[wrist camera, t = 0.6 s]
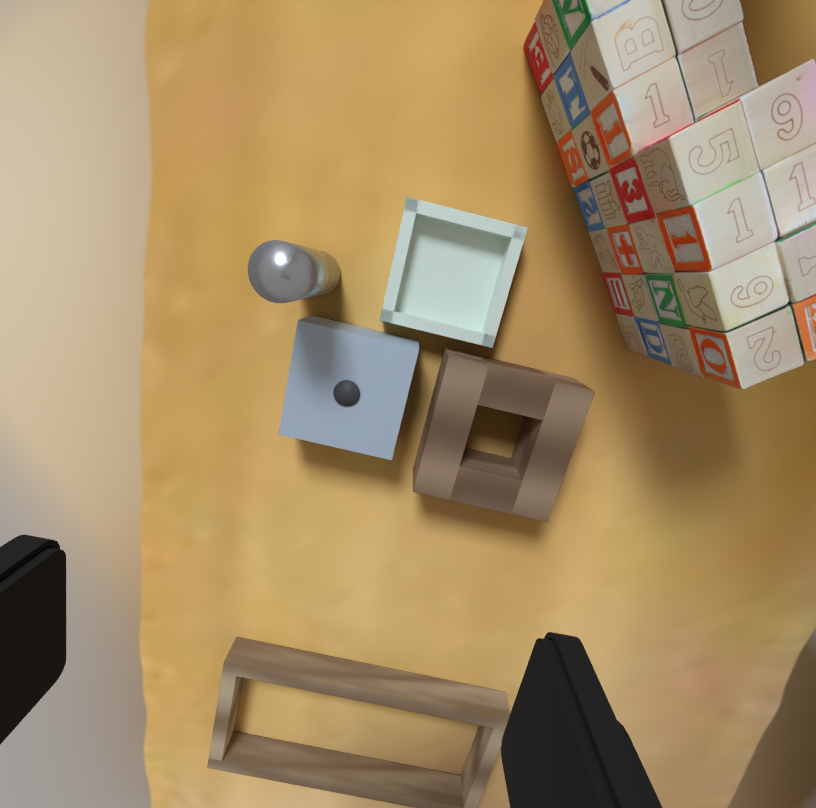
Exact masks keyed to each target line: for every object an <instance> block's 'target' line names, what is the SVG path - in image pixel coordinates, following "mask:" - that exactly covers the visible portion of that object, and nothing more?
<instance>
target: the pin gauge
mask: <svg viewBox="0 0 816 808" xmlns="http://www.w3.org/2000/svg"><path fill="white" fill-rule="evenodd" d="M248 275H249V279H250V282H251V284H252V286H253V288H254V289H255V291H256V292H257V293H258V294H259V295H260V296H261V297H263V298H264V299H266V300H268V301H271V302H274V303H287V302H292V301H296V300H301V299H306V298H311V297H315V296H320V295H325V294H328V293H330V292H332V291H333V290H334V289H335V288H336V287H337V285H338V283H339V280H340V268H339V265H338V263H337V261H336V260H335V259H334V258H333V257H332V256H331V255H330V254H328V253H326V252H323V251H319V250H315V249H311V248H307V247H303V246H299V245H296V244H292V243H288V242H284V241H279V240H273V241H268V242H265V243H263V244H261V245H260V246H258V247H257V248H256V249H255V250H254V252H253V253H252V255H251V257H250V260H249V263H248Z"/></svg>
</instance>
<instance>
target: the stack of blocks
mask: <svg viewBox="0 0 816 808" xmlns="http://www.w3.org/2000/svg"><path fill="white" fill-rule="evenodd" d="M743 18H744V16H743V11H742V7H741V3H740V0H544V1H543V3H542V5H541V7H540V9H539V11H538V14H537V15H536V18H535V22H534V24H533V26H532V28H531V30H530V32H529V34H528V36H527V38H526V40H525V43H524V49H525V52H526V55H527V57H528V60H529V63H530V65H531V68H532V71H533V74H534V76H535V79H536V82H537V85H538V87H539V91H540V93H541V94H542V96H541V101H542V104H543V106H544V109H545V112H546V115H547V118H548V121H549V123H550V126H551V129H552V132H553V135H554V138H555V140H556V142H557V146H558V150H559V153H560V156H561V158H562V161H563V164H564V167H565V170H566V173H567V176H568V179H569V181H570V185H571V187H573V188H574V192H575V195H576V198H577V201H578V204H579V207H580V210H581V212H582V215H583V218H584V221H585V224H586V227H587V229H588V231H589V234H590V237H591V240H592V243H593V246H594V249H595V252H596V255H597V257H598V260H599V263H600V266H601V269H602V271H603V273H602V275H603V278H604V281H605V284H606V287H607V290H608V293H609V296H610V299H611V301H612V304H613V307H614V310H615V313H616V317H617V320H618V323H619V326H620V329H621V332H622V335H623V338H624V340H625V343H626V346H627V349H628V350H629V351H632V352H635V353H638V354H641V355H643V356H647V357H651V358H653V359H656V360H659V361H662V362H665V363H667V364H669V365H672V366H674V367H675V368H678V369H681V370H682V371H686V372H688V373H691V374H694V375H696V376H699V377H702V378H705V377H708V378H711V379H713V380H716V381H719V382H721V383H724V384H727V385H729V386H732V387H735V388H738V389H746V388H748V387H751V386H753V385H755V384H758V383H760V382H763V381H765V380H767V379H770V378H772V377H775V376H777V375H779V374H782V373H784V372H787V371H790V370H792V369H795V368H797V367H800V366H802V365H803V364H804V361H812V360H815V359H816V63H815V61H814V59H811V60H809V61H808V62H806V63H804V64H802V65H800V66H798V67H796V68H794V69H793V70H791V71H789V72H787V73H785V74H783V75H781V76H779V77H777V78H775V79H773V80H771V81H769V82H767V83H765V84H763V85H761V86H759V85H758V80H757V77H756V73H755V69H754V65H753V61H752V57H751V53H750V49H749V44H748V40H747V36H746V32H745V28H744V25H743V22H742V21H743Z"/></svg>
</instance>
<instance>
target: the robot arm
mask: <svg viewBox="0 0 816 808" xmlns="http://www.w3.org/2000/svg"><path fill="white" fill-rule="evenodd" d="M65 663H66V554H65V552H64V551H63V550H60V546H59V544H58V542H57V541H54V540H50V539H45V538H40V537H34V536H29V535H20V536H18V537H16V538H14V539H12V540H11V541H9V542H8V543H6V544H4V545H3V546H1V547H0V744H1V743H2V742H3V741H4V740H5V738H6V737H7V736H8V735H9V734H10V733H11V732H12V730H14V728H15V727H16V726H17V725H18V724H19V723H20V722H21V721H22V719H23V718H24V717H25V716H26V715H27V714H28V713H29V712H30V710H31V709H32V708H33V707H34V706H35V705H36V704H37V703H38V701H39V700H40V699H41V698H42V697H43V696H44V695H45V693H46V692H47V691H48V690H49V689H50V688H51V687H52V686H53V684H54V683H55V682H56V681H57V679H58V678H59V676H60V675H61V673H62V671H63V669H64V666H65ZM501 756H502V763H503V769H504V774H505V780H506V785H507V791H508V797H509V802H510V808H662V806H661V804H660V802H659V799H658V797H657V795H656V793H655V791H654V789H653V787H652V784H651V782H650V780H649V778H648V776H647V774H646V771H645V769H644V767H643V765H642V763H641V761H640V759H639V756H638V754H637V752H636V750H635V748H634V746H633V743H632V741H631V739H630V737H629V735H628V733H627V732H626V730H625V728H624V726H622V725H621V724H620V723H619V722H618V721H617V719H616V717H615V715H614V713H613V710H612V708H611V706H610V704H609V702H608V699H607V697H606V695H605V693H604V691H603V688H602V686H601V684H600V682H599V680H598V677H597V675H596V673H595V671H594V669H593V666H592V664H591V662H590V660H589V658H588V655H587V653H586V651H585V649H584V646H583V644H582V642H581V641H580V639H579V638H577V637H574V636H568V635H563V634H558V633H552V632H548V633H547V634H546V636H545V638H544V639H541V638H538V639H537V640H536V642H535V645H534V648H533V651H532V654H531V656H530V659H529V662H528V665H527V668H526V671H525V674H524V677H523V679H522V682H521V685H520V688H519V691H518V694H517V697H516V699H515V702H514V705H513V708H512V711H511V714H510V717H509V720H508V722H507V725H506V728H505V731H504V734H503V737H502V744H501Z"/></svg>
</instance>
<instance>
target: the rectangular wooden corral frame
mask: <svg viewBox="0 0 816 808" xmlns="http://www.w3.org/2000/svg"><path fill="white" fill-rule="evenodd" d="M243 678H248V679H253V680H258V681H263V682H268V683H273V684H277V685H282V686H287V687H292V688H297V689H302V690H307V691H312V692H317V693H322V694H327V695H332V696H337V697H342V698H347V699H352V700H357V701H362V702H367V703H372V704H377V705H382V706H387V707H392V708H397V709H402V710H407V711H412V712H417V713H422V714H426V715H431V716H436V717H441V718H446V719H451V720H456V721H461V722H466V723H471V724H476V725H479V728H478V731H477V733H476V736H475V739H474V741H473V744H472V747H471V750H470V752H469V755H468V758H467V760H466V763H465V766H464V768H463V771H462V774H461V775H455V774H450V773H445V772H440V771H435V770H430V769H425V768H420V767H415V766H409V765H404V764H399V763H394V762H389V761H384V760H379V759H374V758H368V757H363V756H358V755H353V754H348V753H343V752H338V751H333V750H328V749H322V748H317V747H312V746H307V745H302V744H297V743H292V742H287V741H281V740H276V739H271V738H266V737H261V736H256V735H251V734H246V733H241V732H235V731H234V727H235V721H236V716H237V710H238V704H239V698H240V693H241V687H242V681H243ZM509 717H510V712H509V708H508V703H507V698H506V694H505V692H503V691H498V690H493V689H488V688H483V687H478V686H473V685H468V684H464V683H459V682H454V681H449V680H444V679H439V678H434V677H430V676H425V675H420V674H415V673H410V672H405V671H400V670H395V669H391V668H386V667H381V666H376V665H371V664H366V663H361V662H357V661H352V660H347V659H342V658H337V657H332V656H327V655H323V654H318V653H313V652H308V651H303V650H298V649H293V648H288V647H284V646H279V645H274V644H269V643H264V642H259V641H254V640H250V639H245V638H240V637H236V639H235V641H234V643H233V645H232V647H231V649H230V651H229V653H228V655H227V657H226V659H225V661H224V665H223V671H222V678H221V684H220V690H219V697H218V703H217V709H216V716H215V722H214V729H213V735H212V741H211V748H210V754H209V760H208V767H207V768H210V769H216V770H221V771H226V772H231V773H237V774H242V775H247V776H252V777H258V778H263V779H268V780H273V781H278V782H284V783H289V784H294V785H299V786H305V787H310V788H315V789H320V790H326V791H331V792H336V793H341V794H347V795H352V796H357V797H362V798H367V799H373V800H378V801H383V802H388V803H394V804H399V805H404V806H409V807H415V808H477V806H478V804H479V801H480V799H481V796H482V794H483V791H484V788H485V786H486V783H487V781H488V778H489V776H490V773H491V771H492V768H493V766H494V763H495V761H496V758H497V755H498V753H499V750H500V748H501V744H502V737H503V734H504V731H505V728H506V725H507V722H508V720H509Z"/></svg>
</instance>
